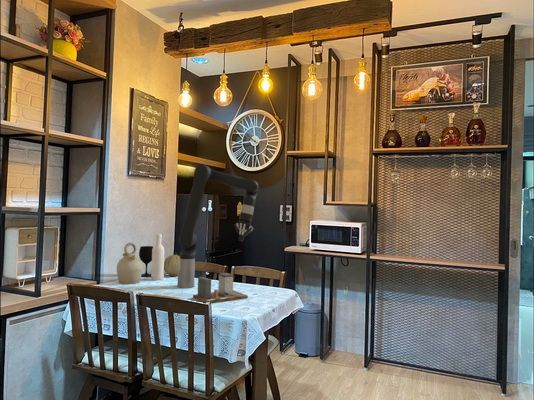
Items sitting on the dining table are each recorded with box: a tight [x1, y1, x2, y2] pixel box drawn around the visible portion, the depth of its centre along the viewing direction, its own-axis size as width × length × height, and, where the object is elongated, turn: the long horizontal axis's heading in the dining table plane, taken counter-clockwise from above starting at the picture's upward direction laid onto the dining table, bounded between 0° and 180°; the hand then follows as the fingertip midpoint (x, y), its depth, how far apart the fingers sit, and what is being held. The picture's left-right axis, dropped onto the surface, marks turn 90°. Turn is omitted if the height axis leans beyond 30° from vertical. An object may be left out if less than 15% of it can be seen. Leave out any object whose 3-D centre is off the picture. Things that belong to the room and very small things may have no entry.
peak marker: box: [213, 289, 218, 298], centre depth 209 cm, size 1×2×4 cm, turn 37°
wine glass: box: [138, 245, 154, 278], centre depth 274 cm, size 10×10×20 cm
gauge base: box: [192, 289, 249, 304], centre depth 216 cm, size 25×16×2 cm, turn 127°
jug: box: [116, 242, 144, 285], centre depth 250 cm, size 15×16×25 cm
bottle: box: [150, 233, 165, 281], centre depth 263 cm, size 8×8×30 cm
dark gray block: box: [197, 276, 212, 299], centre depth 210 cm, size 3×9×10 cm, turn 37°
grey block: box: [217, 272, 235, 296], centre depth 217 cm, size 5×10×11 cm, turn 37°
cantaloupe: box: [164, 253, 180, 277], centre depth 277 cm, size 15×15×15 cm
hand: (240, 241), depth 239 cm, fingers closed
